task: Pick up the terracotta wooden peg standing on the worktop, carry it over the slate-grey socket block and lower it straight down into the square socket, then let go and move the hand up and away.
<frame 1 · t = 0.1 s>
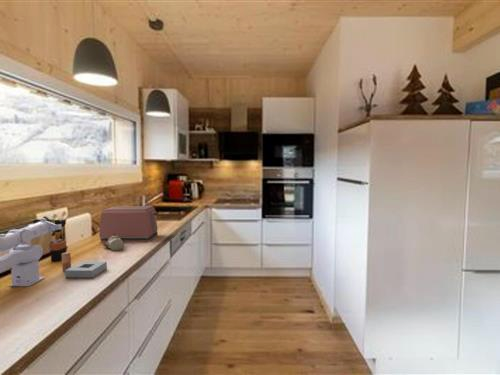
hand: (57, 222, 149), 22 cm above the countertop, fingers open, 7 cm apart
peg: (67, 270, 145), on the countertop
ceramic sculpture: (114, 249, 182), on the countertop
battery: (59, 259, 162), on the countertop
socket block: (87, 273, 140), on the countertop
toaster: (131, 239, 205), on the countertop
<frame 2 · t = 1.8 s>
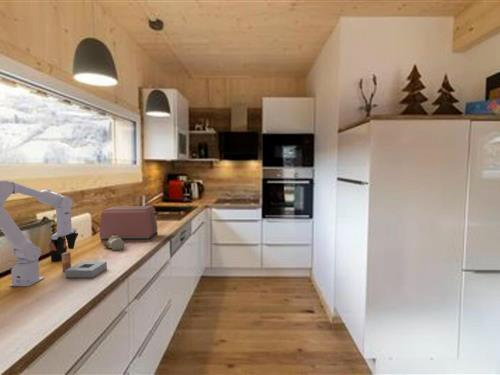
hand: (65, 251, 145), 9 cm above the countertop, fingers open, 7 cm apart
nothing on the countertop moved.
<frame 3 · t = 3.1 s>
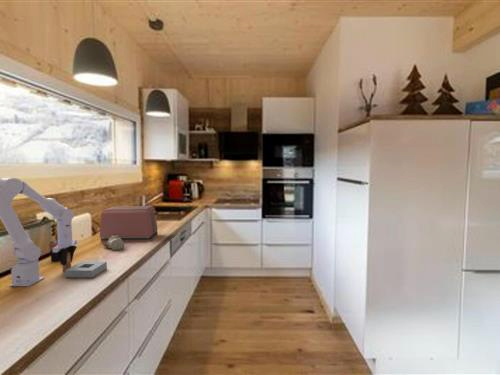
hand: (66, 263, 145), 3 cm above the countertop, fingers closed on peg, 3 cm apart
peg: (67, 270, 145), on the countertop, touching gripper
everything else where it was.
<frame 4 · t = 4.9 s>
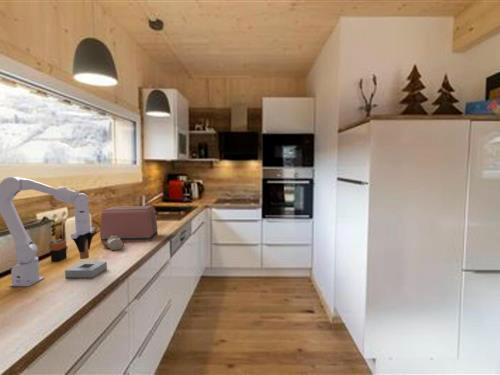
hand: (84, 250, 140), 10 cm above the countertop, fingers closed on peg, 3 cm apart
peg: (84, 257, 140), point 7 cm above the countertop, touching gripper
everything else where it was.
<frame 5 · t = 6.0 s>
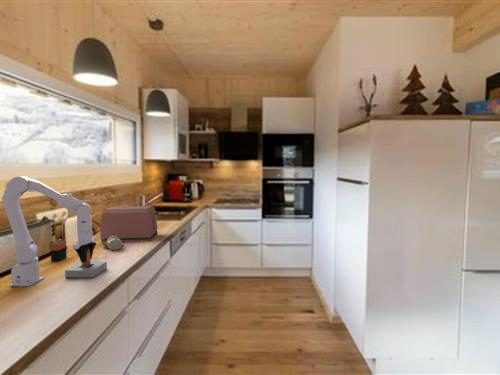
hand: (86, 260, 140), 6 cm above the countertop, fingers closed on peg, 3 cm apart
peg: (86, 267, 140), point 3 cm above the countertop, touching gripper
everything else where it was.
when the fingers open (4 cm above the countertop, at t = 6.7 s): peg stays where it is, resting on socket block.
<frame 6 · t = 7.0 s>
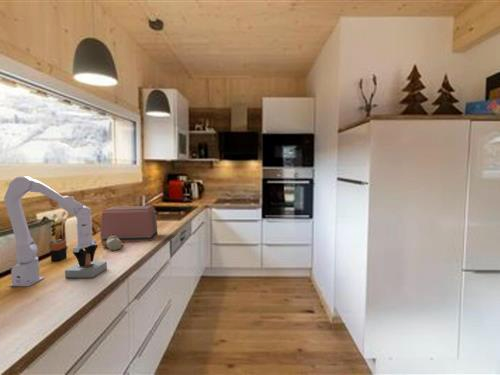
hand: (86, 263, 140), 5 cm above the countertop, fingers open, 6 cm apart
peg: (86, 272, 140), point 1 cm above the countertop, touching socket block
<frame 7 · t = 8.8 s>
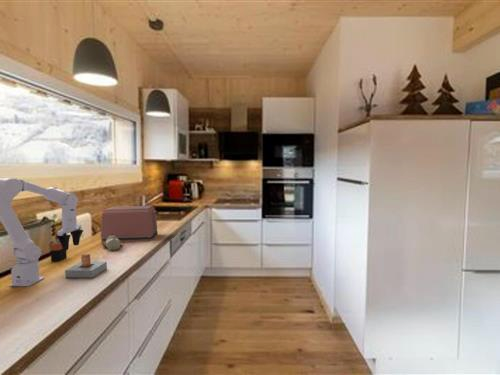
hand: (71, 247, 147), 10 cm above the countertop, fingers open, 7 cm apart
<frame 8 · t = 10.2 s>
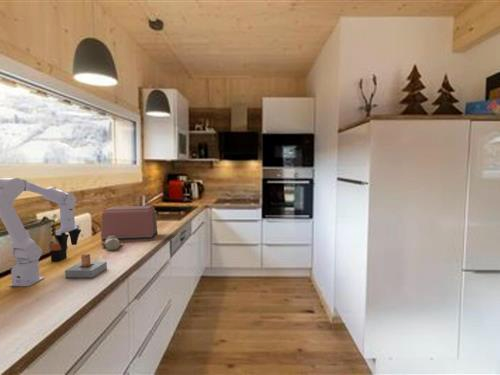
hand: (69, 246, 148), 10 cm above the countertop, fingers open, 7 cm apart
at the end: peg 0.1 cm off-centre on the socket block, point 0.5 cm above the socket block's base; peg tilted 0°; the gripper is holding nothing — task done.
